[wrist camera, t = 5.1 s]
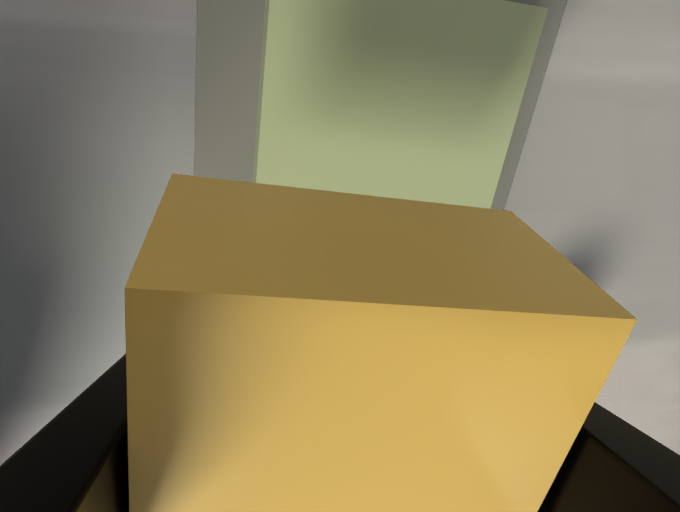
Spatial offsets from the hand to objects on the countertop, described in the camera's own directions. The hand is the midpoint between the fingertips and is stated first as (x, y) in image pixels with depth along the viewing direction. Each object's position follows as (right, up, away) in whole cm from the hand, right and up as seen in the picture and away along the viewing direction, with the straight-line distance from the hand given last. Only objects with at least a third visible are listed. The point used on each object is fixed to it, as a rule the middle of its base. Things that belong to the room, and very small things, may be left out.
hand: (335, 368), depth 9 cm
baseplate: (+1, +7, +9) cm, 12 cm away
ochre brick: (0, 0, +1) cm, 1 cm away
